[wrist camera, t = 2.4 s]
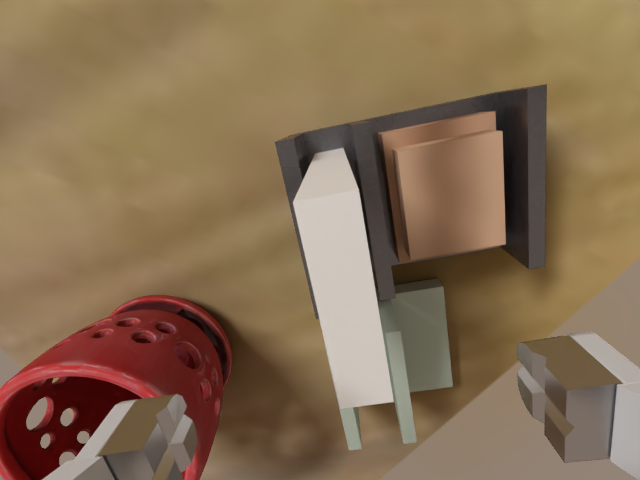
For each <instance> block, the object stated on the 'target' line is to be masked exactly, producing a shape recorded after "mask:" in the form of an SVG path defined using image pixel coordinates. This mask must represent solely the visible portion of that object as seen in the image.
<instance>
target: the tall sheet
mask: <svg viewBox="0 0 640 480" xmlns="http://www.w3.org/2000/svg"><path fill="white" fill-rule="evenodd" d="M293 206H294V210H295V214H296V219H297V223H298V227H299V232H300V236H301V240H302V245H303V249H304V253H305V258H306V262H307V267H308V271H309V275H310V280H311V284H312V288H313V293H314V297H315V301H316V306H317V310H318V314H319V319H320V323H321V328H322V332H323V336H324V341H325V345H326V349H327V354H328V358H329V362H330V367H331V371H332V376H333V380H334V384H335V389H336V393H337V397H338V402H339V406H340V409H344V408H351V407H359V406H367V405H374V404H382V403H390V402H394V400H393V394H392V388H391V382H390V375H389V369H388V363H387V357H386V351H385V345H384V339H383V333H382V327H381V321H380V315H379V309H378V303H377V297H376V291H375V285H374V279H373V272H372V266H371V260H370V254H369V248H368V242H367V236H366V230H365V224H364V218H363V212H362V206H361V200H360V194H359V189H358V186H357V184H356V181H355V178H354V175H353V173H352V170H351V167H350V165H349V162H348V159H347V157H346V154H345V151H344V149H343V148H340V149H335V150H330V151H325V152H320V153H315V155H314V157H313V159H312V161H311V164H310V166H309V168H308V170H307V172H306V175H305V177H304V179H303V181H302V183H301V186H300V188H299V190H298V192H297V194H296V197H295V199H294V201H293Z"/></svg>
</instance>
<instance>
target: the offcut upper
mask: <svg viewBox="0 0 640 480" xmlns="http://www.w3.org/2000/svg"><path fill="white" fill-rule="evenodd" d="M392 155H393V162H394V170H395V178H396V186H397V193H398V201H399V209H400V216H401V224H402V232H403V240H404V247H405V251H406V253H407V254H408V256H409V258H410V260H416V259H421V258H427V257H433V256H439V255H445V254H451V253H457V252H463V251H469V250H475V249H481V248H487V247H493V246H499V245H505V244H506V233H505V199H504V165H503V131H497V130H484V131H479V132H474V133H469V134H464V135H459V136H454V137H449V138H444V139H439V140H434V141H429V142H424V143H419V144H414V145H409V146H404V147H399V148H394V149H392Z"/></svg>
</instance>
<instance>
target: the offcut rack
mask: <svg viewBox="0 0 640 480" xmlns="http://www.w3.org/2000/svg"><path fill="white" fill-rule="evenodd" d="M546 99H547V84H546V85H539V86H533V87H526V88H520V89H513V90H506V91H500V92H495V93H491V94H486V95H481V96H476V97H471V98H467V99H462V100H457V101H452V102H447V103H443V104H438V105H433V106H428V107H423V108H419V109H414V110H409V111H404V112H399V113H395V114H390V115H385V116H380V117H375V118H371V119H366V120H361V121H356V122H352V123H347V124H342V125H337V126H332V127H328V128H323V129H318V130H313V131H308V132H304V133H299V134H294V135H290V136H288V137H285V138H283V139H281V140H279V141H276V142H275V144H276V148H277V153H278V157H279V161H280V165H281V170H282V174H283V178H284V183H285V187H286V191H287V195H288V200H289V204H290V208H291V213H292V217H293V221H294V226H295V230H296V234H297V238H298V243H299V247H300V251H301V256H302V260H303V264H304V268H305V273H306V277H307V281H308V286H309V290H310V294H311V299H312V303H313V307H314V311H315V316H316V319H319V314H318V310H317V306H316V301H315V297H314V293H313V288H312V284H311V280H310V275H309V271H308V267H307V262H306V258H305V253H304V249H303V245H302V240H301V236H300V232H299V227H298V223H297V219H296V214H295V210H294V206H293V201H294V199H295V197H296V194H297V192H298V190H299V188H300V186H301V183H302V181H303V179H304V177H305V175H306V172H307V170H308V168H309V166H310V164H311V161H312V159H313V157H314V155H315V153H320V152H325V151H330V150H335V149H340V148H343V149H344V151H345V154H346V157H347V159H348V162H349V165H350V167H351V170H352V173H353V175H354V178H355V181H356V184H357V186H358V189H359V194H360V200H361V206H362V212H363V218H364V224H365V230H366V236H367V242H368V248H369V254H370V260H371V266H372V271H373V275H374V278H375V282H376V286H377V290H378V294H379V297H380V301H381V300H387V299H393V298H396V296H395V289H394V282H393V275H392V269H391V266H393V265H399V264H405V263H411V262H417V261H423V260H429V259H435V258H441V257H447V256H453V255H459V254H465V253H471V252H476V251H482V250H488V249H494V248H500V247H501V248H502V249H504V250H505V251H506V252H507V253H509V254H510V255H511V256H513V257H514V258H515V259H517V260H518V261H519V262H520V263H522V264H523V265H524V266H526V267H527V268H528V269H532V268H538V267H545V208H546ZM492 111H495V113H496V130H497V131H503V165H504V199H505V233H506V244H505V245H500V247H494V248H488V249H482V250H476V251H470V252H464V253H458V254H452V255H447V256H441V257H435V258H429V259H423V260H417V261H411V262H405V263H399V261H398V259H397V257H396V255H395V252H394V245H393V238H392V231H391V223H390V216H389V209H388V202H387V195H386V188H385V181H384V173H383V166H382V159H381V152H380V145H379V138H378V133H381V132H386V131H391V130H396V129H401V128H405V127H410V126H415V125H420V124H425V123H430V122H435V121H440V120H445V119H450V118H454V117H459V116H464V115H469V114H474V113H479V112H492Z"/></svg>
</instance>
